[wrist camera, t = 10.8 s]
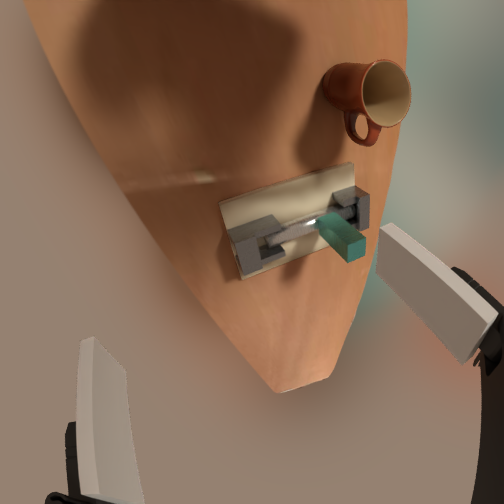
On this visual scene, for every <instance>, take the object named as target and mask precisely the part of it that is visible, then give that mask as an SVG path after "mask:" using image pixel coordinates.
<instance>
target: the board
mask: <svg viewBox="0 0 504 504" xmlns="http://www.w3.org/2000/svg"><path fill="white" fill-rule="evenodd" d="M354 185H355V179H354V163H352V162H347V163H343V164H339V165H336V166H332V167H329V168H325V169H322V170H318V171H315V172H311V173H308V174H305V175H301V176H298V177H295V178H291V179H288V180H285V181H282V182H279V183H275V184H272V185H269V186H266V187H263V188H260V189H257V190H254V191H251V192H247V193H244V194H241V195H239V196H236V197H233V198H230V199H227V200H224V201H221V202H218V203H219V207H220V210H221V214H222V217H223V220H224V224H225V227H226V230H228V229H231V228H234V227H236V226H239V225H242V224H245V223H248V222H250V221H253V220H256V219H259V218H262V217H265V216H268V215H270V214H272V215H273V216H274V217H275V218H276V219H277V220H278V221H279V223H280V224H283V223H285V222H288V221H291V220H294V219H297V218H300V217H302V216H305V215H308V214H311V213H314V212H317V211H319V210H322V209H325V208H328V207H331V206H334V205H337V204H339V203H337V202H336V201H335V200H333V197H332V192H335V191H338V190H341V189H345V188H348V187H351V186H354ZM227 234H228V231H227ZM228 237H229V235H228ZM229 240H230V244H231V247H232V250H233V254H234V257H235V255H237V253H236V249H235V246H234V244H233V243H232V241H231V239H230V237H229ZM256 240H257V244H258V247H260V246H262V245H265V244H266V243H265V240H264V237H260V238H257V239H256ZM280 245H281V246H282V247H283V249H284V250H285V253H286V256H285V257H282V258H280V259H277V260H274V261H272V262H269V263H267V264H264V265H263V269H261V270H258V271H256V272H253V273H250V274H248V275H245V276H244V275H243V273H242V271H241V269H240V267H239V265H238V263H237V261H236V264H237V267H238V270H239V274H240V277H241V279H242V280H243V279H246V278H248V277H251V276H254V275H256V274H259V273H261V272H264V271H267V270H269V269H272V268H274V267H277V266H279V265H282V264H285V263H287V262H290V261H292V260H295V259H297V258H300V257H302V256H305V255H307V254H310V253H312V252H315V251H317V250H320V249H322V248H325V247H327V246H330V245H329V244H328V243H327V242H326V241H325V240H324V239H323V238H322V237H321V236H320V235H319V230H317V231H315V232H312V233H309V234H307V235H304V236H301V237H299V238H296V239H293V240H291V241H288V242H285V243H283V244H280ZM235 260H236V258H235Z"/></svg>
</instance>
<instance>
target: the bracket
mask: <svg viewBox="0 0 504 504" xmlns="http://www.w3.org/2000/svg"><path fill="white" fill-rule="evenodd" d="M279 230H282V229H281V224H280V223H279V221H278V220H277V219H276V218H275V217H274V216H273V215H272V214H270V215H268V216H265V217H262V218H259V219H256V220H253V221H250V222H248V223H245V224H242V225H239V226H236V227H234V228H231V229H228V230H227V231H228V235H229V237H230V239H231V241H232V243H233V244H234V246H235V249H236V253H237V255H235V258H236V261H237V263H238V265H239V267H240V269H241V271H242V273H243V275H244V276H245V275H248V274H250V273H253V272H256V271H258V270H261V269H263V265H264V264H267V263H269V262H272V261H274V260H277V259H280V258H282V257H285V256H286V253H285V250H284V249H283V247H282V246H281V245H277V246H275V247H272V248H268V247H267V245H266V244H265V245H262V246H260V247H258V244H257V240H256V239H257V238H260V237H263V236H265V235H268V234H271V233H274V232H276V231H279Z"/></svg>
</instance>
